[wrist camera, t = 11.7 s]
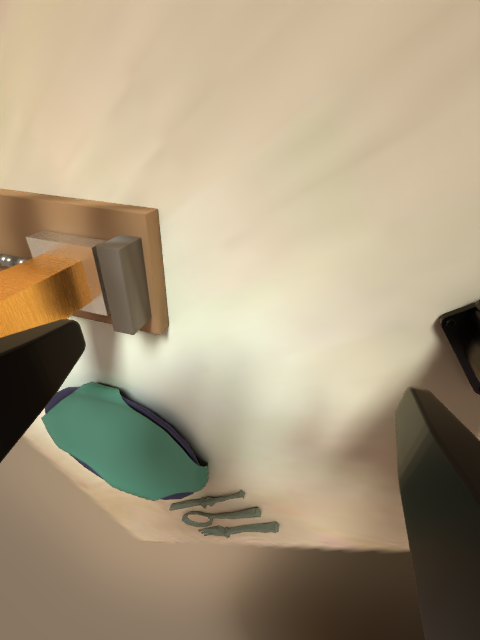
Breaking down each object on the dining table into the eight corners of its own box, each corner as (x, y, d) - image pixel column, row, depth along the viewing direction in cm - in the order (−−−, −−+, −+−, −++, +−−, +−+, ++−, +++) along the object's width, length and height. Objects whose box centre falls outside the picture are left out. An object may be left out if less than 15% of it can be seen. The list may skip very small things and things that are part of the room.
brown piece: (157, 208, 19) (101, 233, 15) (168, 324, 24) (129, 369, 20) (-65, 180, 23) (-165, 193, 18) (-17, 285, 28) (-86, 315, 23)
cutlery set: (104, 347, 28) (88, 363, 26) (296, 519, 36) (294, 541, 34) (34, 409, 39) (19, 423, 37) (193, 531, 47) (187, 548, 45)
